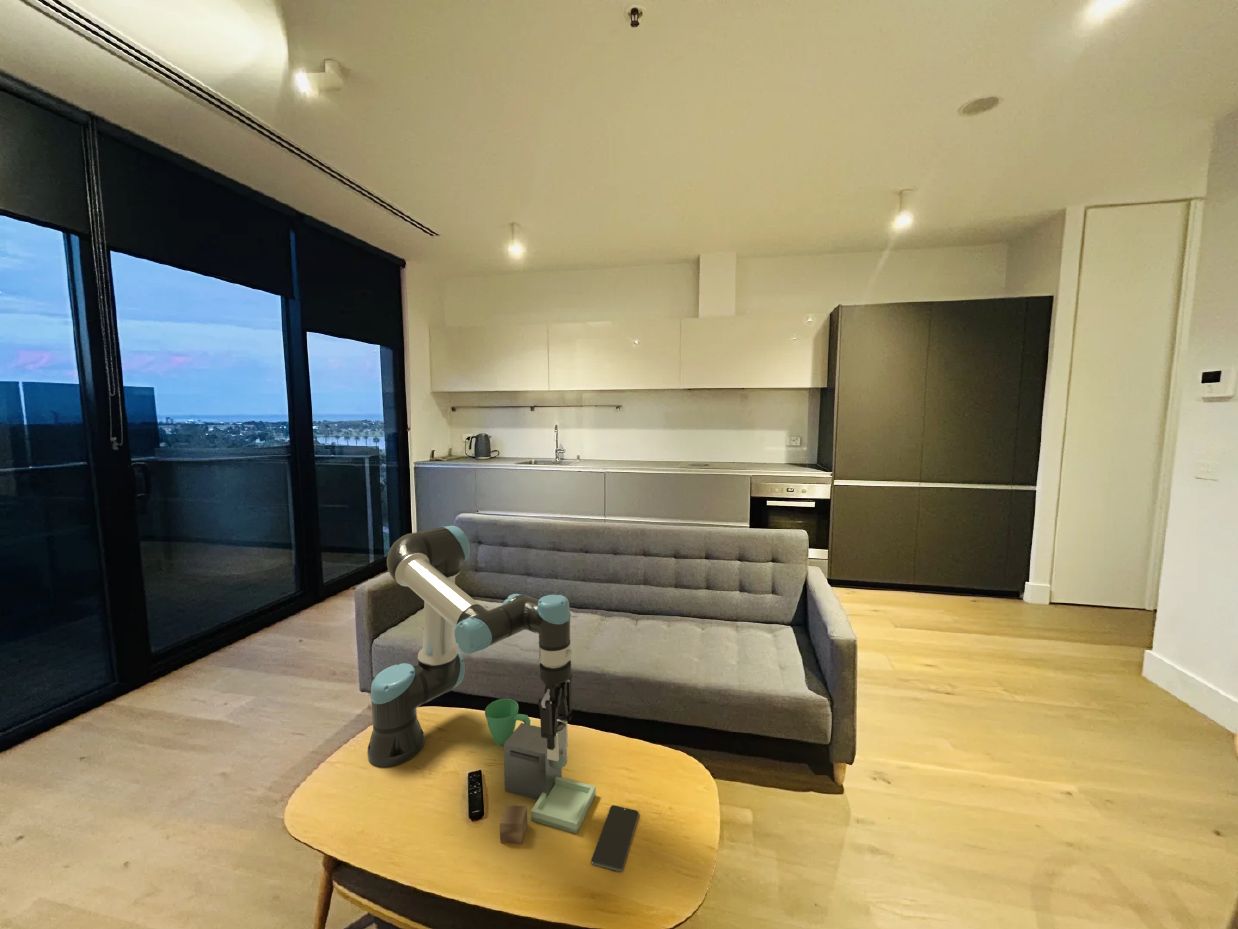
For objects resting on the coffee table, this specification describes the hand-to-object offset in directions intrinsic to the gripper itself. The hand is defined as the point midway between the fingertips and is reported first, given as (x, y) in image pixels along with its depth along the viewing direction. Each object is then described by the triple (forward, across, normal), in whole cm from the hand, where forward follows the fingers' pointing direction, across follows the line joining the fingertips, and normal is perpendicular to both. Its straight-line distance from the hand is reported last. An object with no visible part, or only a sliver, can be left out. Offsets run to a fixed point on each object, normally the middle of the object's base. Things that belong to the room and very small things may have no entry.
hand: (557, 752), depth 116 cm
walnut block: (+15, -10, +7) cm, 19 cm away
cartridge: (+3, 0, 0) cm, 3 cm away
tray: (+15, +1, -1) cm, 15 cm away
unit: (+15, +6, +10) cm, 19 cm away
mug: (+15, +18, +26) cm, 35 cm away
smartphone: (+16, -3, -16) cm, 23 cm away
